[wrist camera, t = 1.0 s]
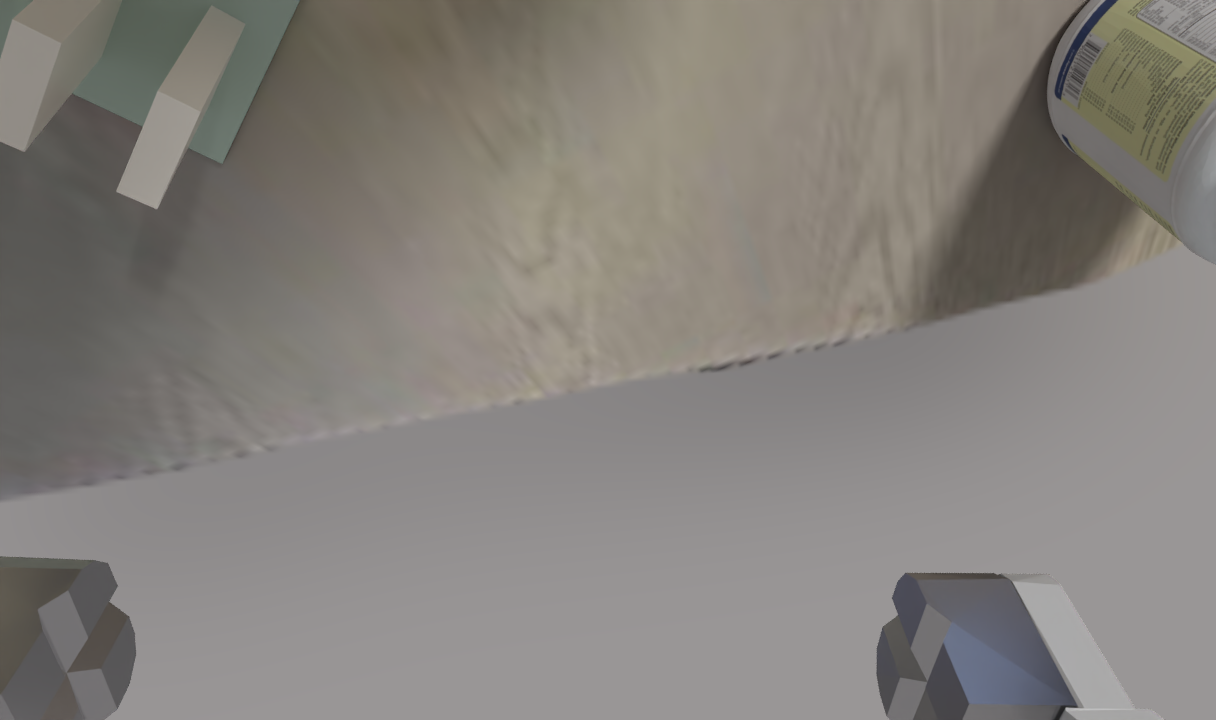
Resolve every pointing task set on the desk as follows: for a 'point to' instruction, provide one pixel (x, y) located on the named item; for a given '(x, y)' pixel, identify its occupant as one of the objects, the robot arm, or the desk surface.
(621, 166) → the desk surface
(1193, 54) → the supplement tub
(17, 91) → the domino
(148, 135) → the domino
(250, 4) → the mat
